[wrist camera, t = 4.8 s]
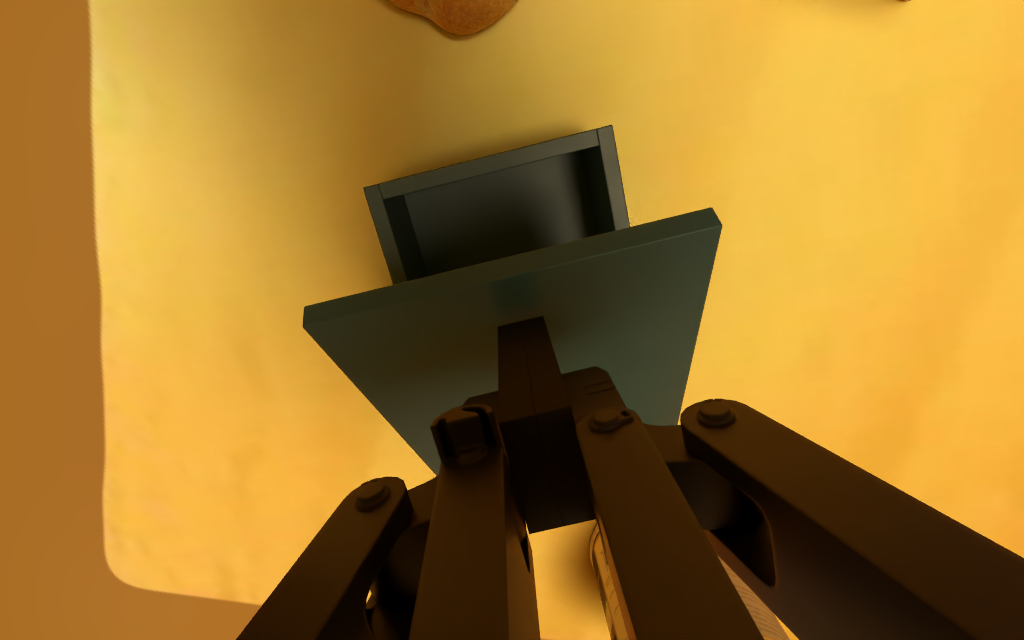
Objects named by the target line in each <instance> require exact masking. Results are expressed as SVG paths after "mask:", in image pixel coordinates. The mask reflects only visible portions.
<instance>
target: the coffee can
mask: <svg viewBox="0 0 1024 640" xmlns="http://www.w3.org/2000/svg"><path fill="white" fill-rule="evenodd" d="M717 556H718V555H717ZM718 558H719V559H720V561H721V563H722V565H723V567H724V568H725V570H726V572H727V574H728V575H729V577H730V579H731V581H732V583H733V584H734V586H735V588H736V590H737V592H738V593H739V595H740V597H741V599H742V600H743V602H744V604H745V606H746V608H747V609H748V611H749V613H750V615H751V617H752V618H753V620H754V622H755V624H756V625H757V627H758V629H759V631H760V633H761V634H762V636H763V638H764V640H790V639H789V638H788V636H787V634H786V633H785V631H784V630H783V628H782V626H781V625H780V623H779V622H778V620H777V618H776V617H775V615H774V614H773V612H772V611H771V610H770V609H769V608H768V607H767V606H766V605H765V604H764V603H763V602H762V601H761V600H760V599H759V598H758V596H757V595H756V594H755V593H754V592H753V591H752V590H751V589H750V588H749V587H748V586H747V585H746V584H745V583H744V582H743V581H742V580H741V579H740V578H739V577H738V576H737V575H736V574H735V573H734V572H733V571H732V570H731V569H730V568H729V567H728V566H727V565H726V564H725V563H724V561H723V560H722V559H721V558H720V557H719V556H718ZM590 560H591V564H592V567H593V569H594V572H595V576H596V580H597V584H598V589H599V592H600V596H601V601H602V604H603V608H604V612H605V616H606V621H607V624H608V628H609V632H610V636H611V640H629V639H628V635H627V631H626V628H625V624H624V621H623V617H622V613H621V610H620V606H619V602H618V599H617V595H616V591H615V588H614V584H613V581H612V577H611V573H610V570H609V566H608V565H607V563H606V559H605V554H604V550H603V546H602V542H601V537H600V533H599V529H598V524H597V526H596V527H595V529H594V532H593V535H592V537H591V541H590Z"/></svg>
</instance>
